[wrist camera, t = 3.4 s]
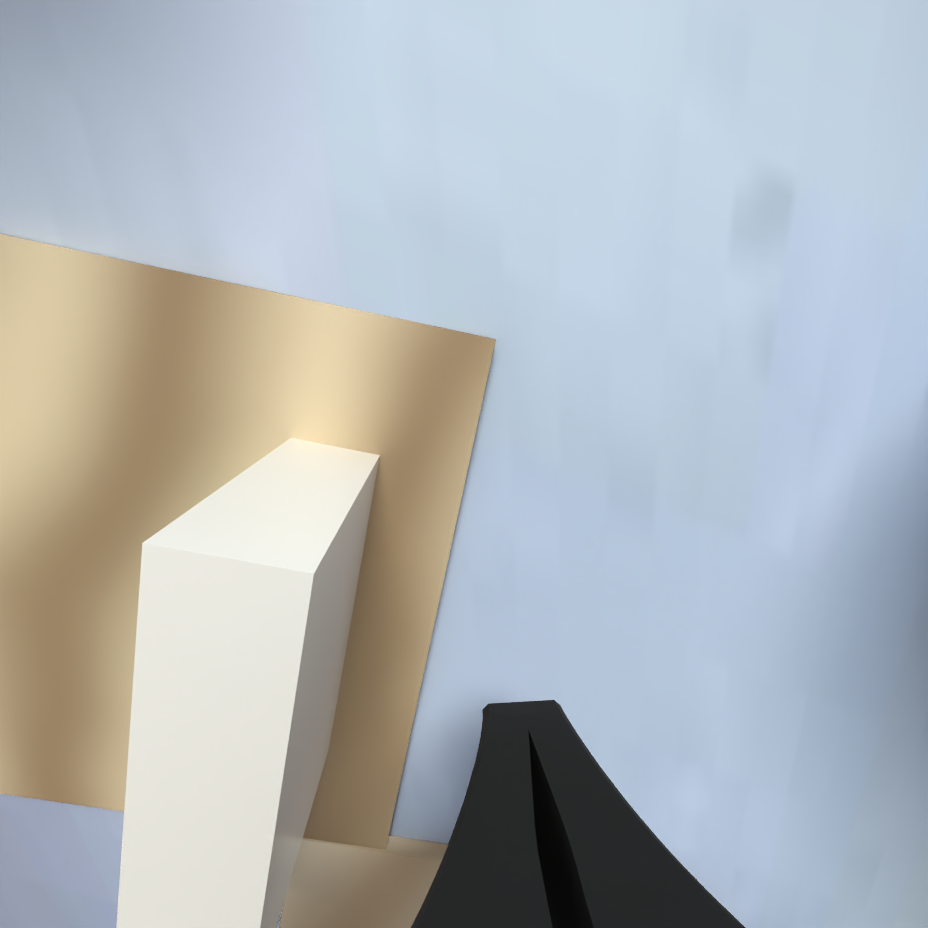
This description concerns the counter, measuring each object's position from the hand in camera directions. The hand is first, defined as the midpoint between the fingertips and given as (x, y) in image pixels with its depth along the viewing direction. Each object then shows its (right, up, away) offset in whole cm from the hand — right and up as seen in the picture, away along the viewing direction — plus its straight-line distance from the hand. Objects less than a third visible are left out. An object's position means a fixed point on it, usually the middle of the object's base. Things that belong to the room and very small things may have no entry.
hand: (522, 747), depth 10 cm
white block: (-5, +2, +3) cm, 6 cm away
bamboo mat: (-10, +3, +3) cm, 11 cm away
